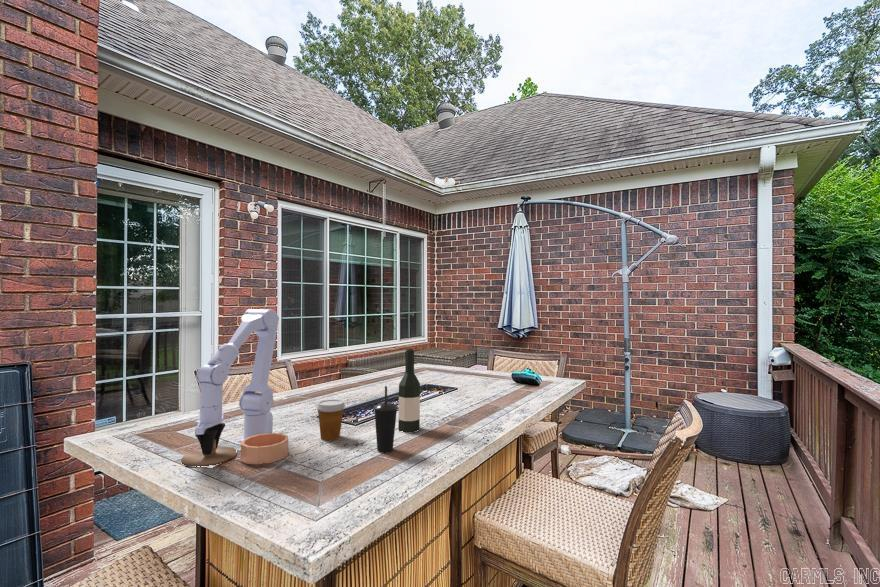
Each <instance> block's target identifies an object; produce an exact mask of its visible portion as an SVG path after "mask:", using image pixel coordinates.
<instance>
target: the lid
mask: <svg viewBox="0 0 880 587" xmlns="http://www.w3.org/2000/svg"><path fill="white" fill-rule="evenodd" d="M236 450H237V449H236V448H234V447H232V446H224V445H223V446H219V445H218V446H217V449H216V440H215V439H214V443H213V449H212V453H211V454H209V455H203V453H202V449H201V448H199V449H197V450H193V451H191V452H188V453H186V454H185V455H184V456H182V457H181V460H180V461H181V462H182V464H184V465H186V466H196V467H197V466H200V467H201V466H209V465H216V464H220V463H222V464H224V463H226V462H229V461H230V460H232V459H233V458H236V457H237V455H236ZM223 462H224V463H223ZM196 467H195V468H196Z"/></svg>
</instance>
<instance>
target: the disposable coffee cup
mask: <svg viewBox="0 0 880 587" xmlns="http://www.w3.org/2000/svg"><path fill="white" fill-rule="evenodd" d="M345 406H346V404H345V402H344V400H341V399H325V400H321V401H318V402H317V405H316V409H317V414H318V415H317V416H318V423H319V424H318V425H319V431H320V432H319V433H320V435H319V436H320V439H321V440H322V441H333V440H337V439H339V438H340V437H341V429H342V423H343V417H344V416H343V415H344V414H343V413H344V409H345Z"/></svg>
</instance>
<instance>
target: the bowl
mask: <svg viewBox="0 0 880 587" xmlns="http://www.w3.org/2000/svg"><path fill="white" fill-rule="evenodd" d="M240 450H241V453H240V461H241V462H242V463H244V464H245V465H262V464H263V463H265V464H271V463H274V461H275V462H277V460H278V461H280V460H283V459H284V458H286V457H287V456H288V455H289V436H288V435H287V434H284V433H279V432H278V433H276V432H272V433H267V434H259V435H255V436H251V437H248V438H246V439H244V440H242V442H240Z"/></svg>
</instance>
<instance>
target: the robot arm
mask: <svg viewBox="0 0 880 587" xmlns="http://www.w3.org/2000/svg"><path fill="white" fill-rule="evenodd" d="M240 320H241V322H240V325H239V326H238V327H237V329H236V330H235V331H234V333H233V335H232V336H231V338H230V340H229V341H228V343H223V344H222V345H220V346H219V347H218V349H217V351H216V352H215V353H214V354H213V356H212V357H211V359H209V361H208V363H206V364H203V365H202V366H201V367H199V369H198V371H197V374H195V379H196V382H197V383H198V388H199V390H200V391H199V394H200V396H199V399H200V400H199V419H197V420H195V421H194V424H195V425H197V426H196V427H195V429H194V430H195V431H194V436H195V437H196V438H197V440H198V442H199V444H200V449H202V453H203V455H209V454H211V453H212V449H213V443H214V439H215V440H216V449H217V447H219V441H220V439H221V436H222V433H223V431H224V429H225V427H226V423H224V422H223V421H225V413H223V394H224V393H223V389H224V383H225V382H226V381H227V379H228V378H229V372H230V369H231V366H232V365H233V363H234V362H235V361H236V359H237V358H238V356H239V355H240V350H239V349H240V347H241V346H242V345H243V344H244V343H245V341H247V339H248V338H249V337H250V336H251V334H253V333H254V334H256V336H257V337H258V342H257V347H256V350H255V351H256V353H255V358H254V362H253V368H252V372H251V378H250V379H251V380H250V383H249V384H247V385H246V386H245V387H244V388H243V390H242V394H241V396H240V397H239V401H238V406H239V409H240V410H241V411H242V414H244V415H243V416H244V417H243V419H244V420H243V437H242V438H240V439H238V440H237V442H238V443H242V440H244V439H246V438H248V437H251V436H255V435H259V434H267V433H273V428H274V427H273V426H274V423H273V421H274V416H273V414H272V412H271V409H272V408H273V406H274V389H273V388H272V387H270V385H269V377H270V372H271V365H272V361H273V354H274V350H275V345H276V338H277V331H278V325H279V320H280V318H279V315H278V313H277V312H276V310H274V309H272V308H271V309H270V308H269V309H256V308H255V309H254V308H249V309H247V310H246V311H245V312H244V313H243V315H242V316H241V319H240Z"/></svg>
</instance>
